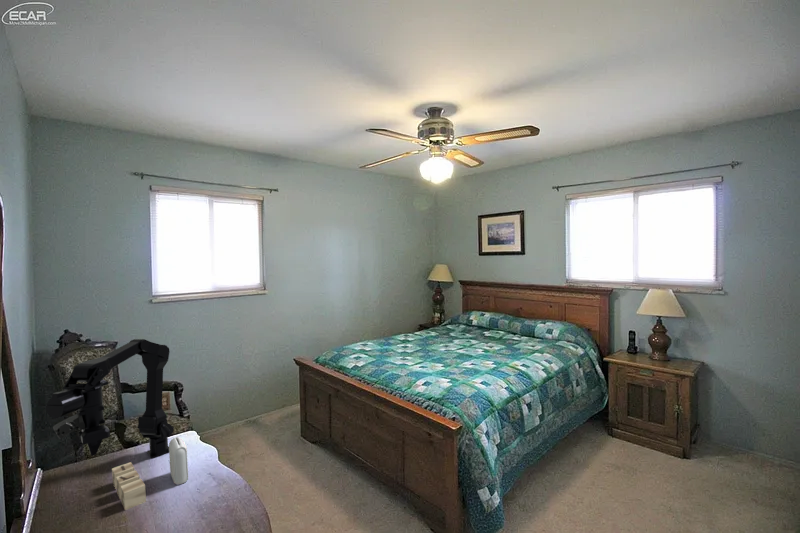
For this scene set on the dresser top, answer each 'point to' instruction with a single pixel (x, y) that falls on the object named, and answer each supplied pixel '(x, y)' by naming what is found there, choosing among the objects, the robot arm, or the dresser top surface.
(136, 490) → the plain block
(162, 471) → the dresser top surface
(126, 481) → the block seven
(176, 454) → the white rounded slab
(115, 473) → the block one
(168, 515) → the dresser top surface
